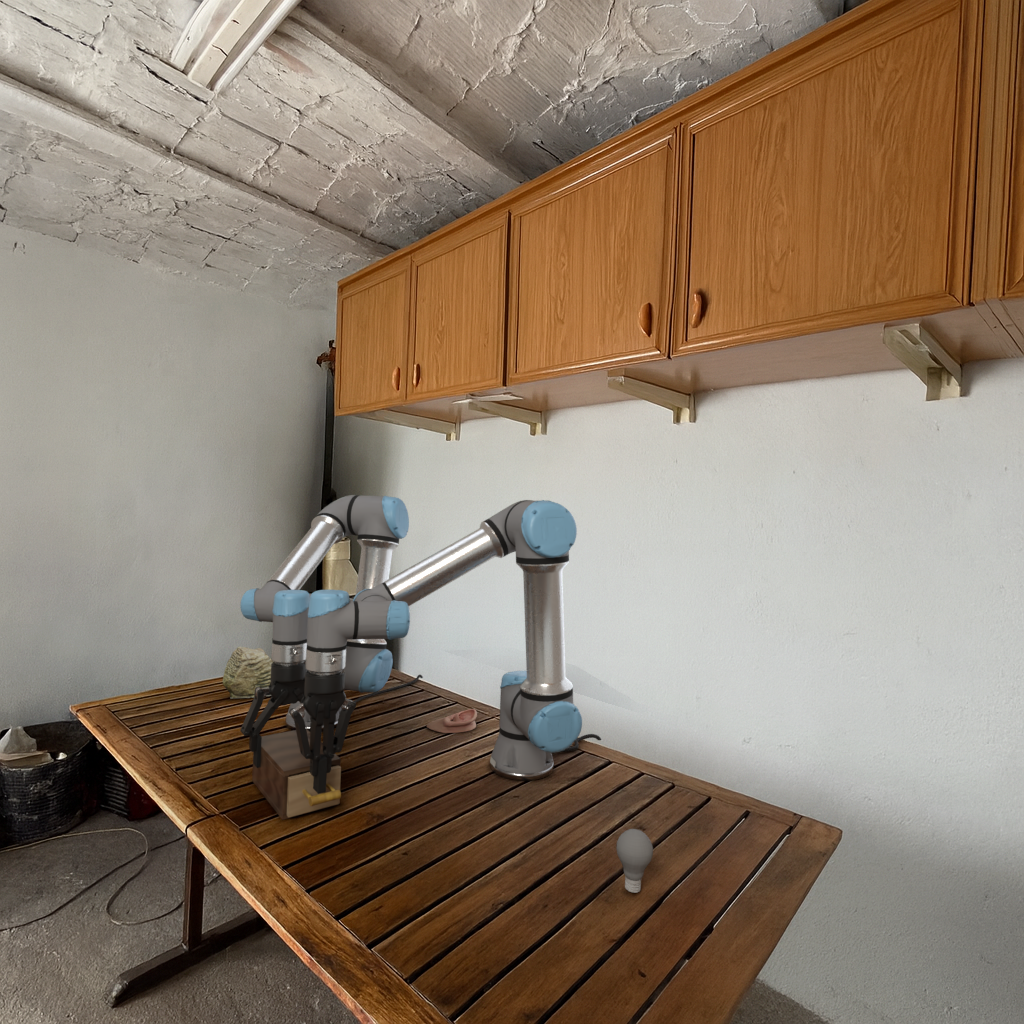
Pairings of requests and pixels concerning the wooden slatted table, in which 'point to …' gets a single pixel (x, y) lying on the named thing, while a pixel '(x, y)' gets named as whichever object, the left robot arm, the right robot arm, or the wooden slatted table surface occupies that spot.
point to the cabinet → (281, 768)
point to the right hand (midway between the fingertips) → (319, 790)
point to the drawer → (312, 792)
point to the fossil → (247, 672)
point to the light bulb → (634, 857)
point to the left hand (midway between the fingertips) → (285, 759)
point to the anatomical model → (455, 722)
